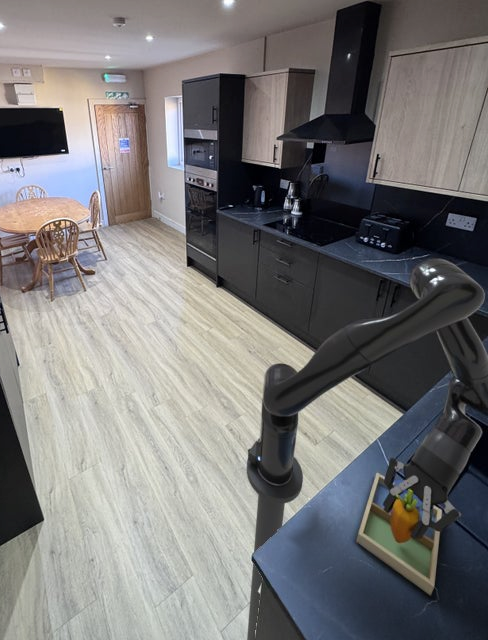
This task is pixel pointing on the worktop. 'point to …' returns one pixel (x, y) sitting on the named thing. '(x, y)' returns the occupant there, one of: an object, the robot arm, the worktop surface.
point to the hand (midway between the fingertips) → (399, 524)
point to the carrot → (404, 517)
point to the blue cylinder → (419, 503)
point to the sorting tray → (406, 557)
